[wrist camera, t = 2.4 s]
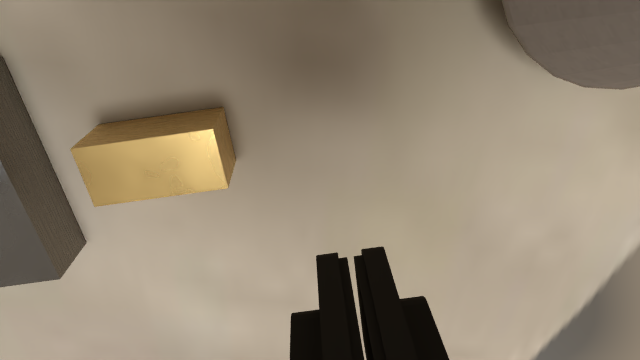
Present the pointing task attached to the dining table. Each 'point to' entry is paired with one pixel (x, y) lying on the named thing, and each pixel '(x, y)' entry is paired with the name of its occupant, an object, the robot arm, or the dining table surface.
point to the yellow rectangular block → (156, 157)
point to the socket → (30, 200)
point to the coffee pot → (581, 39)
